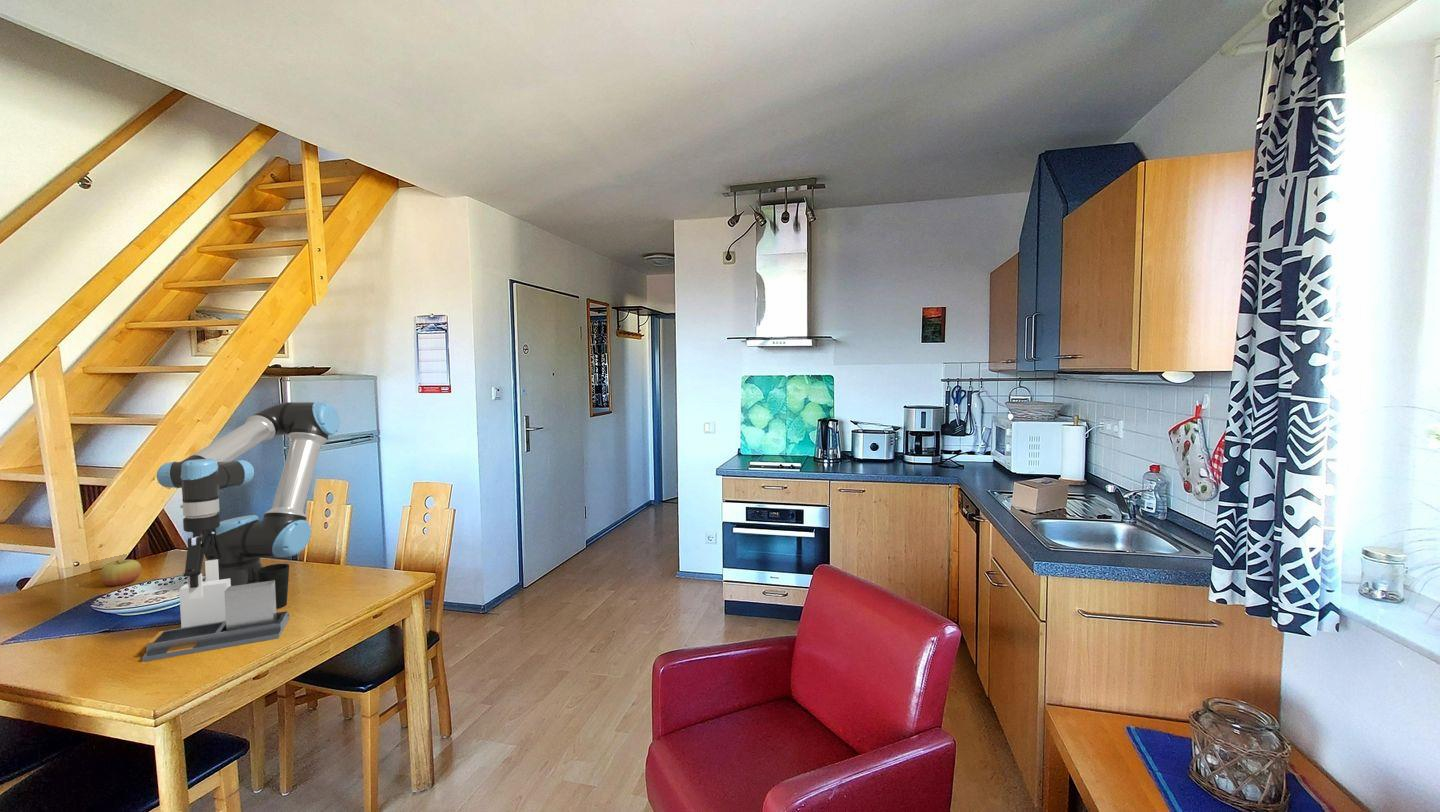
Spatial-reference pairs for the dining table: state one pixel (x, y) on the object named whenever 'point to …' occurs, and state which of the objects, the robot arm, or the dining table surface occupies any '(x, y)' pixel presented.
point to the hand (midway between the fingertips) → (204, 590)
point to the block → (204, 604)
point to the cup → (276, 581)
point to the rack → (226, 624)
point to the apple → (120, 572)
